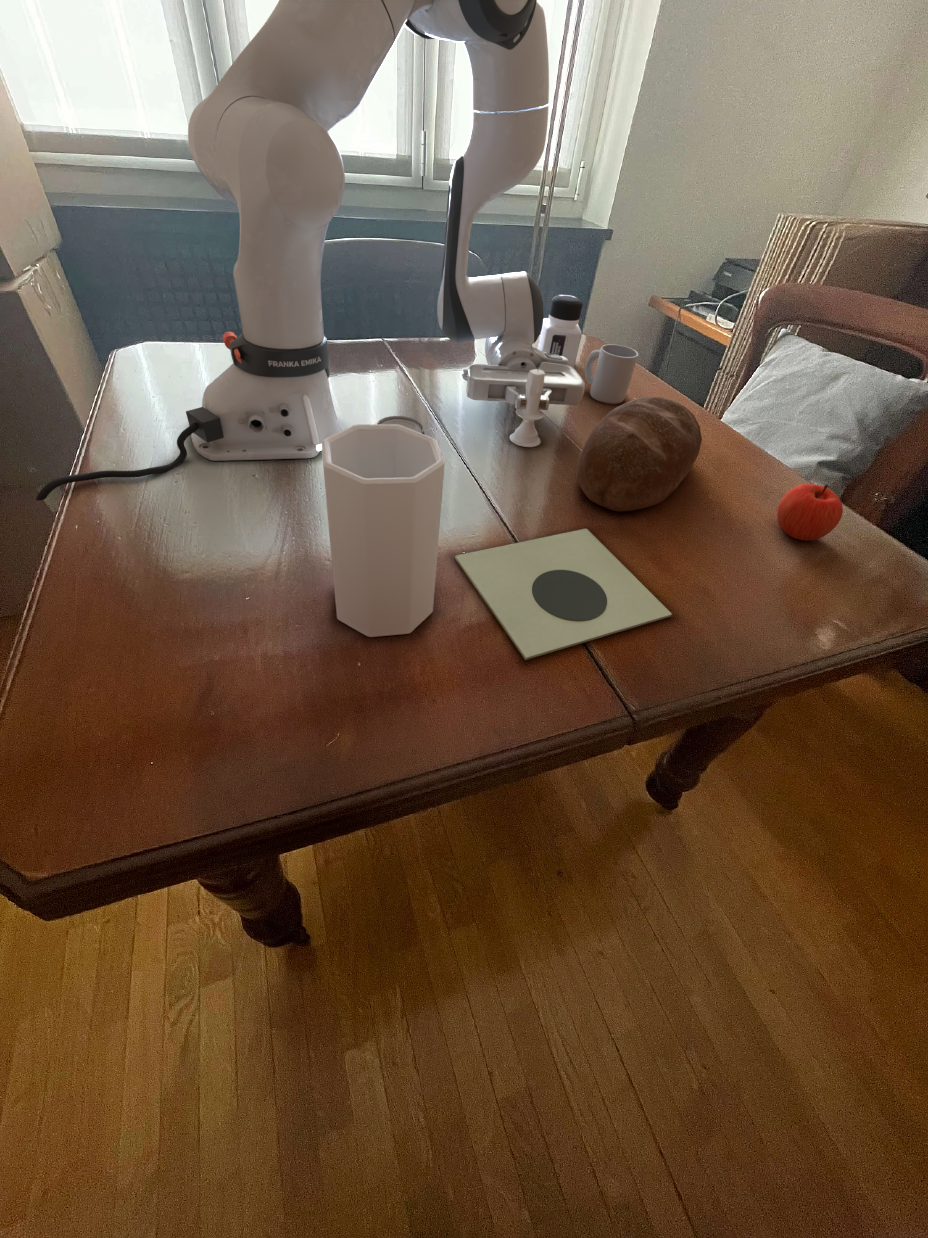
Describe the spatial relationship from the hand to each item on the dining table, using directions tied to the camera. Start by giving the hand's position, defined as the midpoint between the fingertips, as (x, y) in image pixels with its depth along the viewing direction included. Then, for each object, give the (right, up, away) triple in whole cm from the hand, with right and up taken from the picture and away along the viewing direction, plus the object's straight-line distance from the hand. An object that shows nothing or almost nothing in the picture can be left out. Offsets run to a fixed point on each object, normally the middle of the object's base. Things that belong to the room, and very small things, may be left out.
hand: (533, 404), depth 88 cm
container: (+9, +23, +35) cm, 43 cm away
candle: (-1, -4, +5) cm, 7 cm away
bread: (+16, -11, 0) cm, 20 cm away
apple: (+38, -22, -7) cm, 44 cm away
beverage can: (-20, -20, -14) cm, 31 cm away
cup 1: (-20, -33, -27) cm, 47 cm away
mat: (0, -31, -22) cm, 38 cm away
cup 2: (+17, +11, +23) cm, 31 cm away
